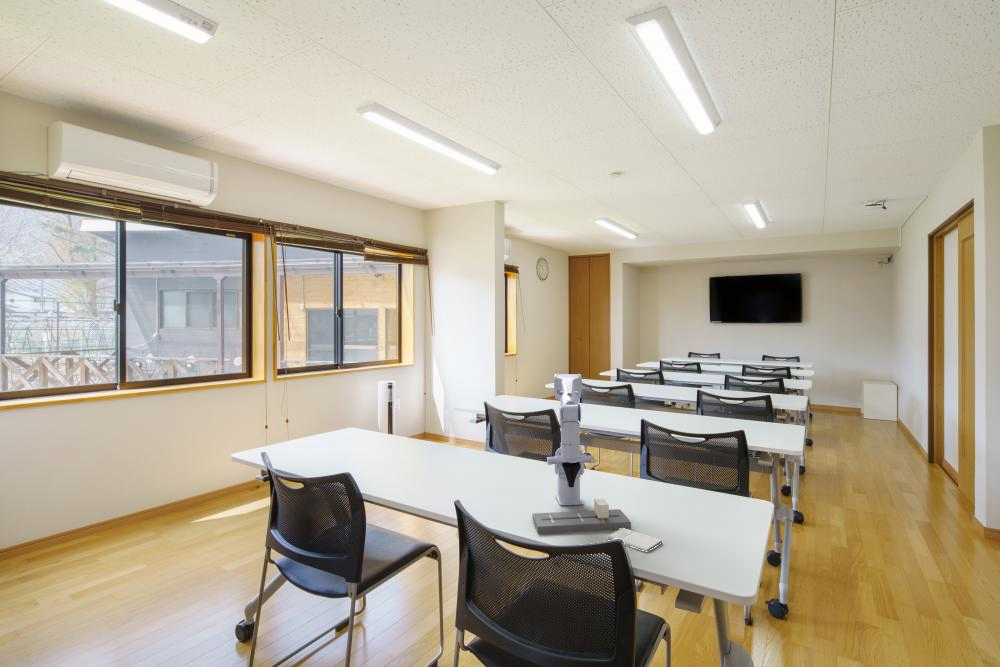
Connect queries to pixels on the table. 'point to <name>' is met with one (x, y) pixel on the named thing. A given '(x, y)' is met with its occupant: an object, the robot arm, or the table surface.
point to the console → (579, 521)
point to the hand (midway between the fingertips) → (570, 486)
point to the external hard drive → (635, 539)
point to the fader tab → (601, 508)
